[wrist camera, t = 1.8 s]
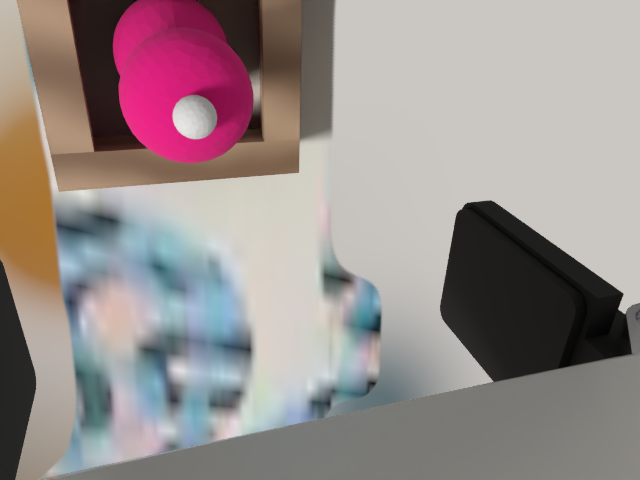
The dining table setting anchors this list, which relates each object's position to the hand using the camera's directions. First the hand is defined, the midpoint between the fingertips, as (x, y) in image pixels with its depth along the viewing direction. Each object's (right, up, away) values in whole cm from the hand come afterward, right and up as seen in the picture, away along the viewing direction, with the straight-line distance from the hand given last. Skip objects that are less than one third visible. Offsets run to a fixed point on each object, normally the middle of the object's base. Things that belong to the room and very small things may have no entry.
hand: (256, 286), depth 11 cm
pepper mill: (-10, +15, +26) cm, 32 cm away
